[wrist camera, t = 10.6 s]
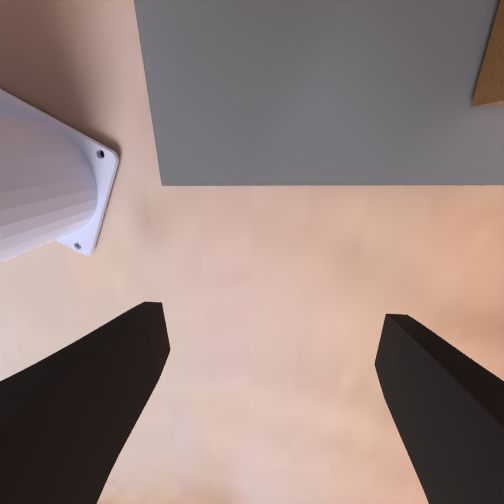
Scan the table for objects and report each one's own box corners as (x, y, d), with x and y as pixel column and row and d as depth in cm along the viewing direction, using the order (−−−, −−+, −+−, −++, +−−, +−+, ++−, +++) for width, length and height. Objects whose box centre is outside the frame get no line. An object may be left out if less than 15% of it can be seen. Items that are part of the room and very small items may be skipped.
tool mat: (172, 182, 16) (123, 198, 11) (135, -87, 12) (23, -267, 7) (596, 181, 14) (780, 201, 9) (769, -165, 9) (1384, -557, 4)
